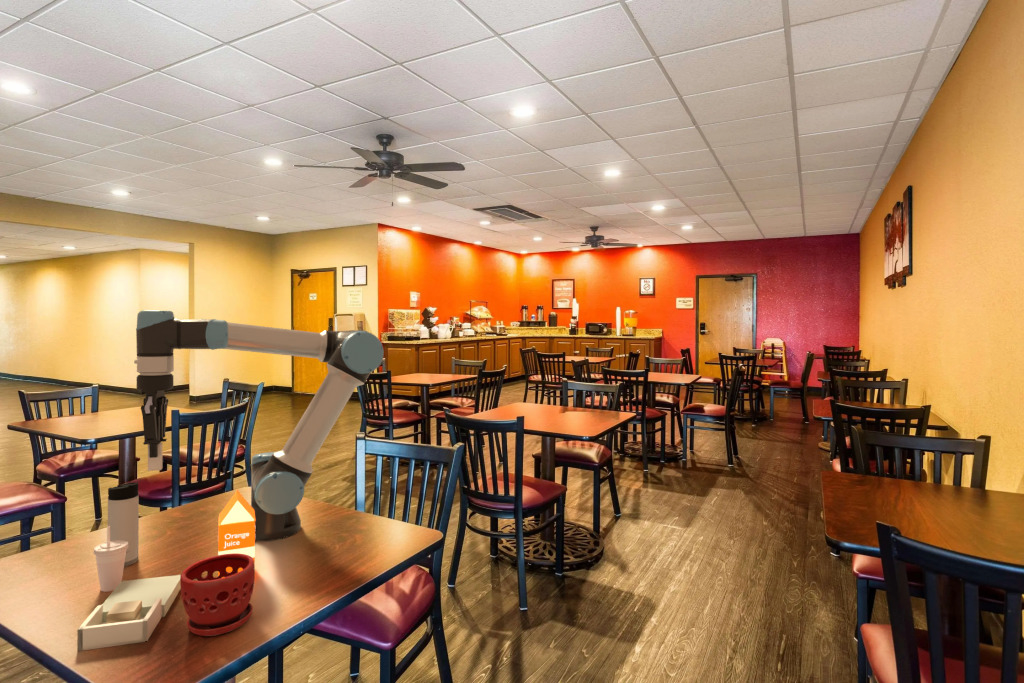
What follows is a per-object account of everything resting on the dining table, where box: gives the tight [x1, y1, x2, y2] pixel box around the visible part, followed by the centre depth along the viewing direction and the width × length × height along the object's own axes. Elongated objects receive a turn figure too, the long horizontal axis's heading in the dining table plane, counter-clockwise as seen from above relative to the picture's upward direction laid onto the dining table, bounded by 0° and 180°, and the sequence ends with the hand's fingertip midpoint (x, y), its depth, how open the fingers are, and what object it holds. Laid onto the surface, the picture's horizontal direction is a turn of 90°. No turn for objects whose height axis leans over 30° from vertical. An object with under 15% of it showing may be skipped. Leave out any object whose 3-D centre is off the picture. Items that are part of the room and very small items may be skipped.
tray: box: [76, 598, 163, 652], centre depth 105 cm, size 11×9×4 cm
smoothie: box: [92, 525, 129, 593], centre depth 122 cm, size 6×6×14 cm
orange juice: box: [217, 489, 256, 578], centre depth 128 cm, size 8×9×20 cm
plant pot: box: [180, 553, 256, 637], centre depth 108 cm, size 13×13×12 cm
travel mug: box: [107, 482, 140, 568], centre depth 135 cm, size 6×7×20 cm
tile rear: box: [107, 600, 142, 624], centre depth 106 cm, size 4×4×2 cm
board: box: [101, 574, 181, 622], centre depth 116 cm, size 12×14×2 cm
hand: (155, 469), depth 132 cm, fingers closed
